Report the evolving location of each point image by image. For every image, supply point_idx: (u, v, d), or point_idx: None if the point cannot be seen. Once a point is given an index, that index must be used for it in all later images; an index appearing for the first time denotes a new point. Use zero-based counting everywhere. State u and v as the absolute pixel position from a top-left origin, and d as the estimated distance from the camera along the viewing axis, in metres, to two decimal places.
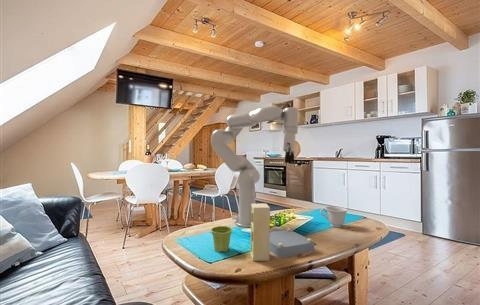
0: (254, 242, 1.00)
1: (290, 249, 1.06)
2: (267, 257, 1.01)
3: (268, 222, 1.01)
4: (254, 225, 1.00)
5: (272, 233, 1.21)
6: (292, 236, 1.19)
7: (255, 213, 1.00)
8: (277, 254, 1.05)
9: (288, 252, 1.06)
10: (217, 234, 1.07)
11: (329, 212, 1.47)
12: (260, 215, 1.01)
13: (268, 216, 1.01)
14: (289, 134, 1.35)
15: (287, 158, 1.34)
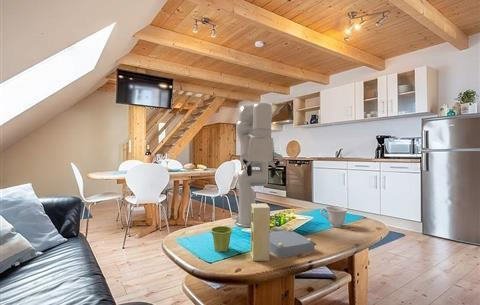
0: (254, 242, 1.00)
1: (290, 249, 1.06)
2: (267, 257, 1.01)
3: (268, 222, 1.01)
4: (254, 225, 1.00)
5: (272, 233, 1.21)
6: (292, 236, 1.19)
7: (255, 213, 1.00)
8: (277, 254, 1.05)
9: (288, 252, 1.06)
10: (217, 234, 1.07)
11: (329, 212, 1.47)
12: (260, 215, 1.01)
13: (268, 216, 1.01)
14: None
15: (275, 171, 1.02)
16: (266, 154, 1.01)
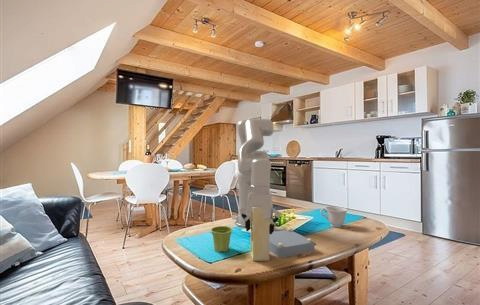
0: (254, 242, 1.00)
1: (290, 249, 1.06)
2: (267, 257, 1.01)
3: (267, 222, 1.01)
4: (254, 225, 1.00)
5: (272, 233, 1.21)
6: (292, 236, 1.19)
7: (255, 213, 1.00)
8: (277, 254, 1.05)
9: (288, 252, 1.06)
10: (217, 234, 1.07)
11: (329, 212, 1.47)
12: (259, 215, 1.00)
13: None
14: (271, 195, 1.03)
15: (273, 228, 1.02)
16: (264, 211, 1.00)
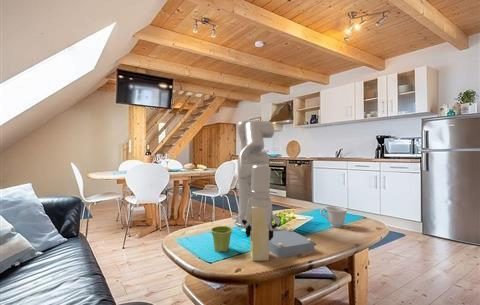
0: (253, 242, 1.00)
1: (290, 249, 1.06)
2: (266, 257, 1.01)
3: None
4: (253, 225, 1.00)
5: None
6: (292, 236, 1.19)
7: (254, 213, 1.00)
8: (277, 254, 1.05)
9: (288, 252, 1.06)
10: (217, 234, 1.07)
11: (329, 212, 1.47)
12: (259, 215, 1.00)
13: None
14: None
15: (272, 234, 1.02)
16: None
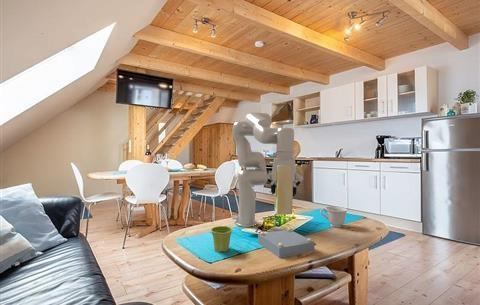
0: (278, 197, 1.10)
1: (290, 249, 1.06)
2: (290, 211, 1.11)
3: None
4: (278, 182, 1.10)
5: (272, 233, 1.21)
6: (292, 236, 1.19)
7: (279, 171, 1.10)
8: (277, 254, 1.05)
9: (288, 252, 1.06)
10: (217, 234, 1.07)
11: (329, 212, 1.47)
12: (284, 172, 1.10)
13: None
14: None
15: None
16: None
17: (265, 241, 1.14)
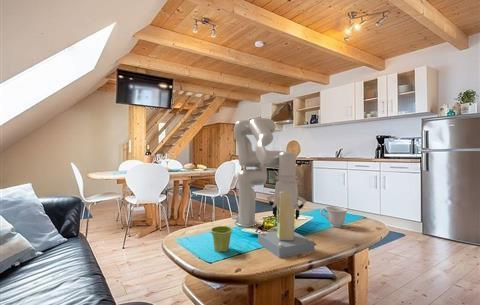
0: (280, 223, 1.12)
1: (290, 249, 1.06)
2: (292, 237, 1.12)
3: None
4: (280, 208, 1.12)
5: (272, 233, 1.21)
6: None
7: (281, 197, 1.12)
8: (277, 254, 1.05)
9: (288, 252, 1.06)
10: (217, 234, 1.07)
11: (329, 212, 1.47)
12: (286, 199, 1.12)
13: None
14: None
15: None
16: (291, 198, 1.12)
17: (265, 241, 1.14)
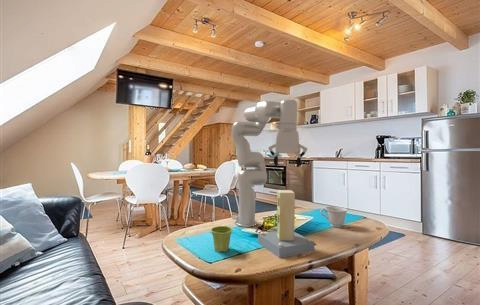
0: (280, 224, 1.12)
1: (290, 249, 1.06)
2: (292, 237, 1.12)
3: (293, 206, 1.12)
4: (280, 208, 1.12)
5: (272, 233, 1.21)
6: None
7: (281, 198, 1.12)
8: (277, 254, 1.05)
9: (288, 252, 1.06)
10: (217, 234, 1.07)
11: (329, 212, 1.47)
12: (285, 199, 1.12)
13: (293, 200, 1.12)
14: None
15: (300, 161, 1.13)
16: (292, 146, 1.12)
17: (265, 241, 1.14)
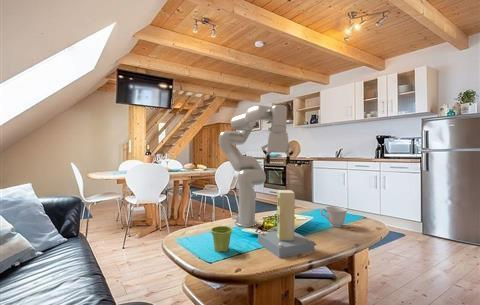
0: (280, 224, 1.12)
1: (290, 249, 1.06)
2: (292, 237, 1.12)
3: (293, 206, 1.12)
4: (280, 208, 1.12)
5: (272, 233, 1.21)
6: None
7: (281, 198, 1.12)
8: (277, 254, 1.05)
9: (288, 252, 1.06)
10: (217, 234, 1.07)
11: (329, 212, 1.47)
12: (285, 199, 1.12)
13: (293, 200, 1.12)
14: (287, 134, 1.28)
15: (289, 159, 1.28)
16: (282, 146, 1.26)
17: (265, 241, 1.14)
